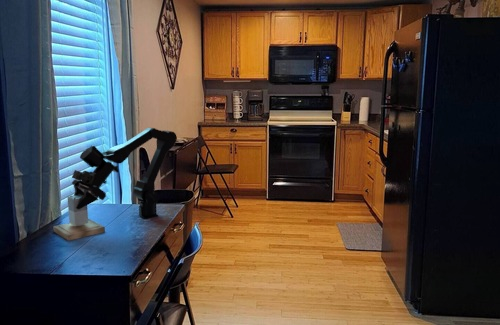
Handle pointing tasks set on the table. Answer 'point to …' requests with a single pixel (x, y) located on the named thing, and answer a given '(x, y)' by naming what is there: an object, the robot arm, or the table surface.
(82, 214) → the plate
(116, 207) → the table surface
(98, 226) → the stand
